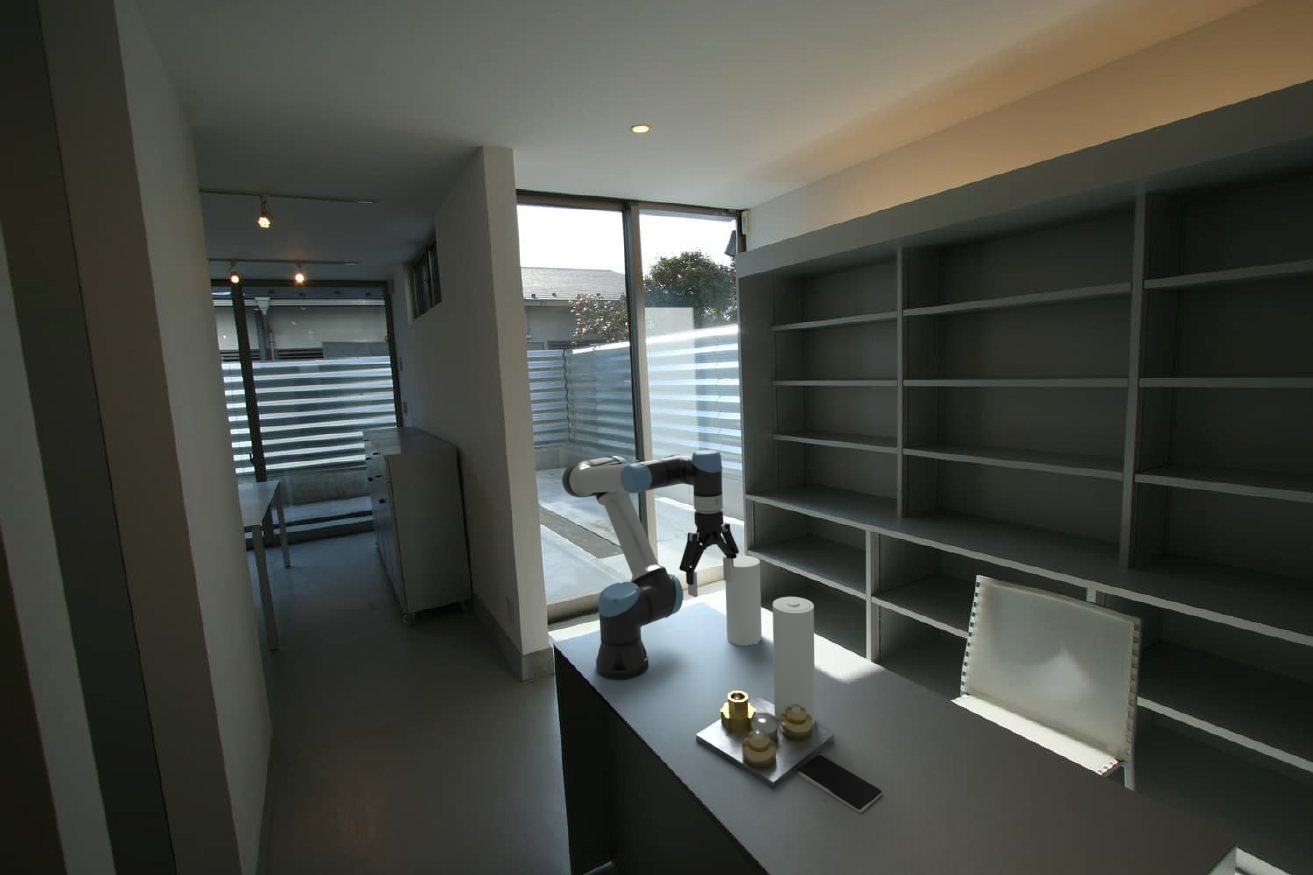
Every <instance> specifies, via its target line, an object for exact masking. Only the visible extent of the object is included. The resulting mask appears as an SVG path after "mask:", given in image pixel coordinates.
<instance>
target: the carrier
mask: <svg viewBox="0 0 1313 875" xmlns="http://www.w3.org/2000/svg"><path fill="white" fill-rule="evenodd" d="M733 699H734V700H742V698H741V697H740V696H735V697H734V698H733ZM748 703H750V704H751V706H752V707H753V709H755V710H756V714H754V715H753V716H752V717H751V728H749V727H748V728H747V729H742V731H737V729H732V728H731V727H730V728H727V727H725V724H724V721H721V718H720V719H718V720H717V721H715V722H713V723H712V724H710V725H709V726H707V727H705V728H704V729H703V730H700V731H699V732H698V733H696V734H695V740H696V742H698V743H699V744H701V745H703V746H704V747H706V748H707V749H709V750H711V751H712V752H714V753H716V754H717V755H719V756H720V757H721V758H723V759H725V760H727V761H729V762H730V763H731V764H733V765H734V766H736V767H738V768H739V769H740V770H741V771H744V772H745V773H747V774H749V775H751V776H752V777H753V778H755V779H757V780H758V781H760V782H762V783H763V784H764V785H766V786H768V787H769V788H771V789H773V790H774V789H776V788H777V787H778V786H779V785H781V783H783V782H784V781H785V780H787V779H788V778H790V777H791V776H792V775H793V774H794V773H795V772H796V771H798V769H799V768H801V767H802V766H803V765H805V764H806V763H807V762H809V761H810V760H811V759H813V758H814V757H815V756H817V755H819V753H821V751H822V750H824V749H825V748H827V747H828V746H829V745H830V744H831V743H832V742H834V740H835V739H834V738H835V736H834V734H833V733H832V732H830V731H827V730H826V729H824V728H821V727H819V726H817V725H816V724H812V718H811V716H810V715H809V714H807V715H806V710H805V708H800V706H799V705H797V704H793V705H792V706H791V707H787V708H786V714H784V713H782V714H781V716H780V721H779V720H778V719H777V718H776V716H775V707H774V704H773V703H772V702H769V701H767V700H765V699H764V698H762V697H759V696H755V697H754V698H752V699H751V700H748Z"/></svg>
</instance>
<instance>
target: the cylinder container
mask: <svg viewBox="0 0 1313 875" xmlns="http://www.w3.org/2000/svg"><path fill="white" fill-rule="evenodd" d="M814 606H815V605H814V603H813V602H812V601H810V600H809V599H806V598H803V597H798V596H784V597H783V596H782V597H779V598H776V599H775V600H773V602H772V639H773V642H772V643H773V644H772V645H773V649H772V650H773V689H774V690H773V694H774V696H773V698H774V700H773V701H774V707H775V716H776V718H777V719H778V720H779V721H780V716H781V714H782V713H784V714H786V708H787V707H791V706H792V705H793V704H797V705H799V706H800V708H805V710H806V715H807V714H809V715H810V716H811V718H812V724H814V725H816V724H815V722H816V716H815V715H816V714H815V713H816V711H815V710H816V709H815V708H816V707H815V706H816V700H815V694H816V693H815V692H816V691H815V610H814V609H815V607H814Z"/></svg>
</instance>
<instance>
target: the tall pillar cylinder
mask: <svg viewBox="0 0 1313 875" xmlns="http://www.w3.org/2000/svg"><path fill="white" fill-rule="evenodd" d="M733 565H734V567H733V582H732V583H730V582H727V581H724V582H725V607H726V608H725V610H726V613H725V614H726V615H725V617H726V638H727V641H728V640H729V641H730V642H729V643H731V644H733V645H736V646H740V647H749V646H748V645H751V646H754V645H753V644H755V643H757V642H759V641H760V640H761V641H762V639H761V638H762V602H761V601H762V597H761V595H762V594H761V589H762V588H761V561H760V559H759V558H757V557H755V556H750V555H737V557H736V558H735V559H734V558H733ZM761 641H760V642H761ZM760 642H759V643H760ZM757 644H758V643H757ZM755 645H756V644H755Z"/></svg>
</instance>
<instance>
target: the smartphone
mask: <svg viewBox="0 0 1313 875" xmlns="http://www.w3.org/2000/svg"><path fill="white" fill-rule="evenodd" d="M797 774H798V776H800V778H802V779H804V780H806V782H808V783H810V784H812V785H813V786H815V787H818V788H819V789H821V790H822V791H824V792H825V793H827V794H828V795H831V797H834V798H835V799H837V800H838V801H840V802H841V803H842V804H844V805H846V806H848V807H849V808H851V810H854V811H856V812H857V813H860V814H861V813H864V811H866V809H867V808H869V807H870V806H871V805H872V804H873V803H874V802H875V801H876V800H878V799H879V798H880V797H881V796H882V795H883V791H882V789H880V788H879V787H876V786H875V785H873V784H872V783H869V782H868V781H866V779H863V778H862V777H859V776H858V775H856V774H854V773H853V772H851V771H849V770H847V769H846V768H844V767H842V766H841V765H839V764H837V763H835V762H834V761H832V760H830V759H829V758H827V757H825V756H823V755H821V754H816V755H815V756H814V757H813V758H811V759H810V760H809V761H808V762H806V763H805V764H804V765H803V766H801V767H800V768H799V769H798V770H797Z"/></svg>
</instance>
